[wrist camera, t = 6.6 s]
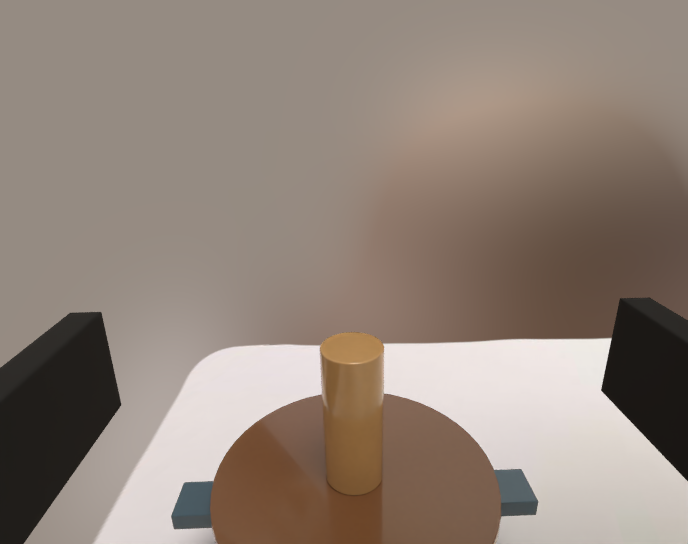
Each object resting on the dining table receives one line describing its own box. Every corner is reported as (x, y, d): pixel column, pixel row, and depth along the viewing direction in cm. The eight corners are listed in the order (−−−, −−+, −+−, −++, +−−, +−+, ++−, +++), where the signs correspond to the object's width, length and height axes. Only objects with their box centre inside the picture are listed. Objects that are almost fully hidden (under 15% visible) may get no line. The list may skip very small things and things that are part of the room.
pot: (222, 499, 35) (208, 407, 32) (479, 489, 36) (489, 397, 33) (153, 750, 22) (118, 629, 19) (572, 729, 22) (603, 607, 19)
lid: (241, 409, 33) (227, 291, 30) (456, 401, 33) (464, 284, 30) (171, 650, 18) (129, 469, 15) (554, 633, 19) (590, 452, 16)
